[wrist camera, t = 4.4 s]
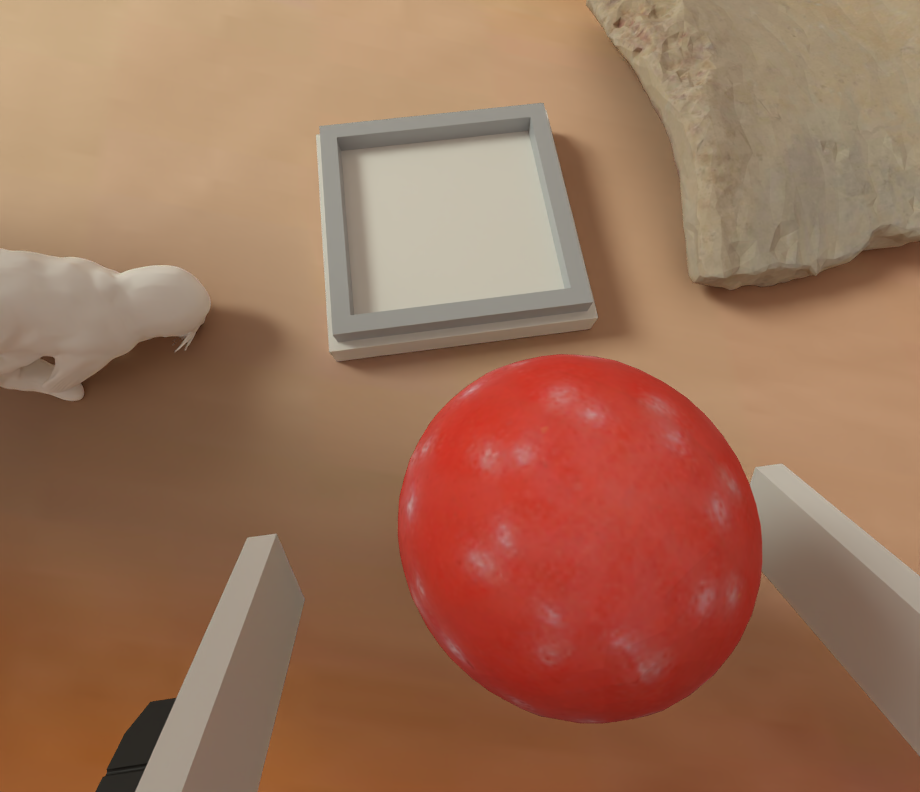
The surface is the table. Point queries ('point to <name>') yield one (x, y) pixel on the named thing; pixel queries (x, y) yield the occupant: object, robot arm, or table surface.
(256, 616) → the robot arm
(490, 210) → the tray
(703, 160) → the tablet
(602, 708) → the stacking toy
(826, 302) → the table surface
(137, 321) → the lumpy white figurine
